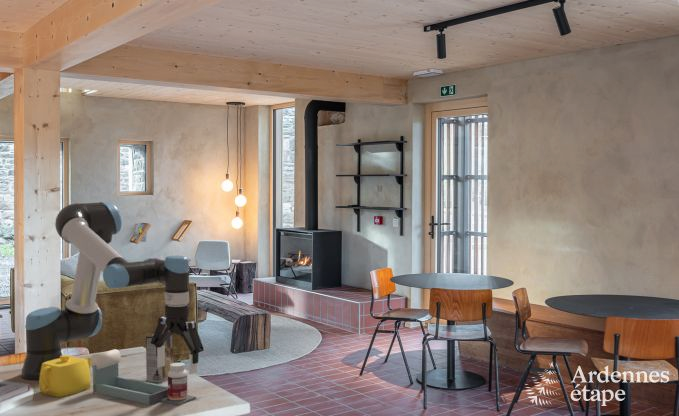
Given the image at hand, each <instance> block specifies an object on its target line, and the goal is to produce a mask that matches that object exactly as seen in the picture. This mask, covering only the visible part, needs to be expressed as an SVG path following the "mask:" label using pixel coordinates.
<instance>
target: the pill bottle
mask: <svg viewBox="0 0 679 416" xmlns="http://www.w3.org/2000/svg"><path fill="white" fill-rule="evenodd" d="M170 369H171V371H169V372H168V379H167V386H168V398H169V399H170V400H174V401H178V400H183V399H186V398H187V395H189V393H188V371H187V370H186V364H185V362H173V363H172V364H170Z"/></svg>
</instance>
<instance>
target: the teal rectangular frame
mask: <svg viewBox="0 0 679 416" xmlns="http://www.w3.org/2000/svg"><path fill="white" fill-rule="evenodd" d="M89 358H90V368H92V393H95V394H99V395H104V396H109V397H112V398H113V397H114V398H118V399H123V400H127V401H130V402H131V401H132V402H135V403H136V402H137V403H141V404H145V405H149V406H152V405H155V404H157V403H159V402H160V399H163V398H165V397H168V385H162V384H159V383H158V384H157V383H154V382H147V381H143V380H137V379H132V378H127V377H122V376H119V363H120V362H122V361H121V360H122V354H121V352H120V351H119V350H118V349H116V348H114V349H111V350H107V351H103V352H99V353H95V354H93V355H91V356H90V357H89ZM160 403H161V402H160Z"/></svg>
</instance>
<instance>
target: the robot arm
mask: <svg viewBox="0 0 679 416" xmlns="http://www.w3.org/2000/svg"><path fill="white" fill-rule="evenodd" d="M122 222H123V221H122V216H121V214H120V211H119V209H118V207H117V206H116V205H115V204H113V203H112V202H102V201H100V202H90V203H89V202H86V203H85V202H84V203H83V202H82V203H77V202H76V203H75V202H74V203H70V204H68V205H66V206H65V207H63V208H62V209H61V210H60V211H59V212H58V214H57V215H56V218H55V224H54V225H55V230H56V232H57V235H58V236H59V237H60V238H61V239H62V240H63V241H64V242H66V243H67V244H71V245H73V246H74V247H75V248H77V250H78V251H79V254H78V259H77V264H76V270H75V275H74V281H73V286H72V291H71V297H70V298H69V299H68V300H66V301H65V304H64V305H65V306H64V309H60V308H59V307H57V306H50V307H43V308H38V309H35V310H33V311H31V312H29V314H27V315H26V318H25V326H24V328H25V338H26V339H25V343H26V344H25V345H26V347H25V348H26V349H25V351H26V354H25V358H24V362H23V367H22V368H21V378H23V379H25V380H35V381H39V378H40V371H41V366H42V363H44V362H47V361H51V360H54V359H58V358H60V356H62V355H63V353H62V343H65V342H71V341H75V340H81V339H83V340H84V339H87V338H91V337H94V336H95V335H97V334H98V333H99V332H100V330H101V328H102V324H103V317H102V316H103V313H102V310H101V309H100V307H99V305H98V303H97V302H96V298H97V292H98V289H99V288H98V287H99V283H100V279H101V273H102V279H103V282H104V285H106V287H107V288H108V289H123V288H130V287H134V286H136V287H137V286H141V285H142V286H143V285H150V284H151V285H152V284H163V285H164V303H165V306H164V316H161V317H158V319H157V325H156V327H155V331H154V332H153V333H154V335H153V338H152V340H151V344H154V345H155V347H156V356H157V367H158V368H160V367H163V366H165V346H162V345H164V342H165V341H166V340H167V338H168V337H169V336H170V334H171V333H173V334H174V335H179V336H180V337H181V338H182V339H183V340H184V342H185V344H186V346H187V347H188V349H189V351H190V353H189V354H188V355H189V357H188V359H189V361H188V363H189V365H188V366H189V367H188V371H189V372H188V374H189V375H193V374H197V373H198V363H199V353H201V352H204V351H205V348H204V346H203V343H202V340H201V338H200V335H199V332H198V329H197V322H196V321H195V320H193V321H189V320H188V317H189V316H190V309H189V308H190V305H188V304H189V303H190V262H189V261H190V260H189V257H187V256H186V255H168V256H166V257H165V258H164V259H160V258H155V257H154V258H146V259H144V260H143V261H142V260H141V261H132V262H129V261H127V260H126V259H125V258H124V257H123V256H122V255H121V254H120V253H118V251H116V250H115V249H114V248H113V247H112V246H111V245H110V244H111V243H112V239H113V235H117V234H118V233H119V232H120V231H121V228H122ZM163 331H164V332H163ZM162 333H163V334H162Z"/></svg>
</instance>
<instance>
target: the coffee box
mask: <svg viewBox="0 0 679 416" xmlns="http://www.w3.org/2000/svg"><path fill="white" fill-rule="evenodd" d="M163 332H164V330H163ZM154 333H155V332H153V333H151V334H149V335H146V336H145V360H146V362H145V368H146V382H148V383H162V382H163V383H164V382H165V381H168V372H169V371H171V369H170V364H172V363H174V333H171V334H170V336H169V337H168V338H167V340H166V341H165V342H164V345H162V346H165V366H163V367H160V368H158V367H157V356H156V347H155V345H154V344H151V340H152V338H153V335H154ZM162 334H163V333H162Z"/></svg>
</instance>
